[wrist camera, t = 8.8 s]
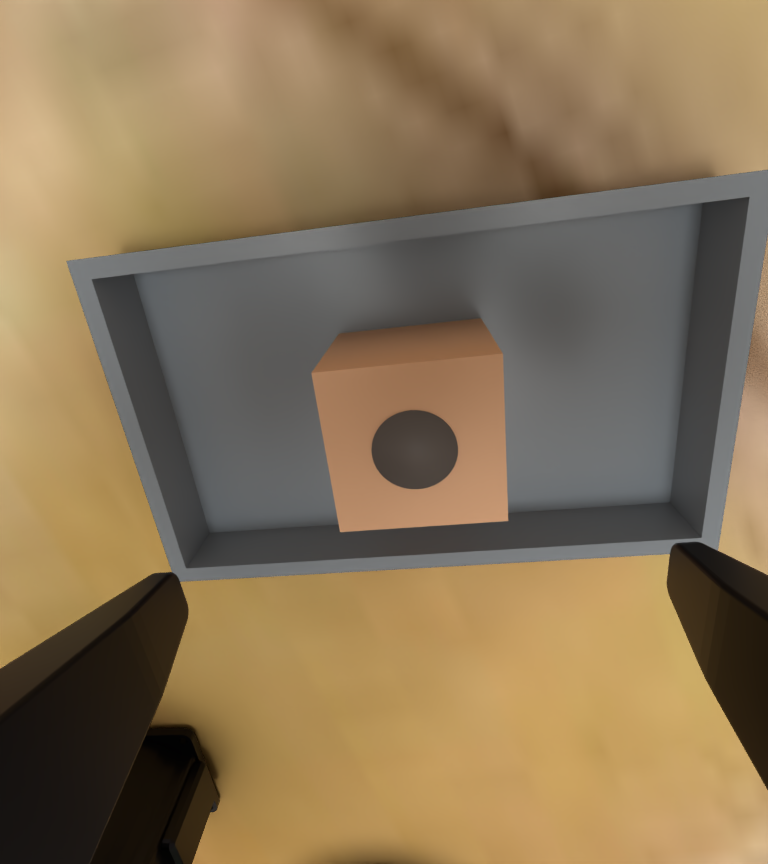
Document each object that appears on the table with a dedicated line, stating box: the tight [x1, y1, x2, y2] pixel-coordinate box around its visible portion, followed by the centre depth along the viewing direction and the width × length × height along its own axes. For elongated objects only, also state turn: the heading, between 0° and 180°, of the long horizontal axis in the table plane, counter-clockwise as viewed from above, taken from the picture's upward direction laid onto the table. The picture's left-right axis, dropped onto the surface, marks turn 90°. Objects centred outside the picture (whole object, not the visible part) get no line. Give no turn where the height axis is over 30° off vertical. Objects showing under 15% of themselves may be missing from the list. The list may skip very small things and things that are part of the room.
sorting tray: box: [66, 170, 768, 582], centre depth 18 cm, size 20×12×3 cm, turn 97°
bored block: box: [311, 318, 508, 532], centre depth 16 cm, size 5×5×5 cm
